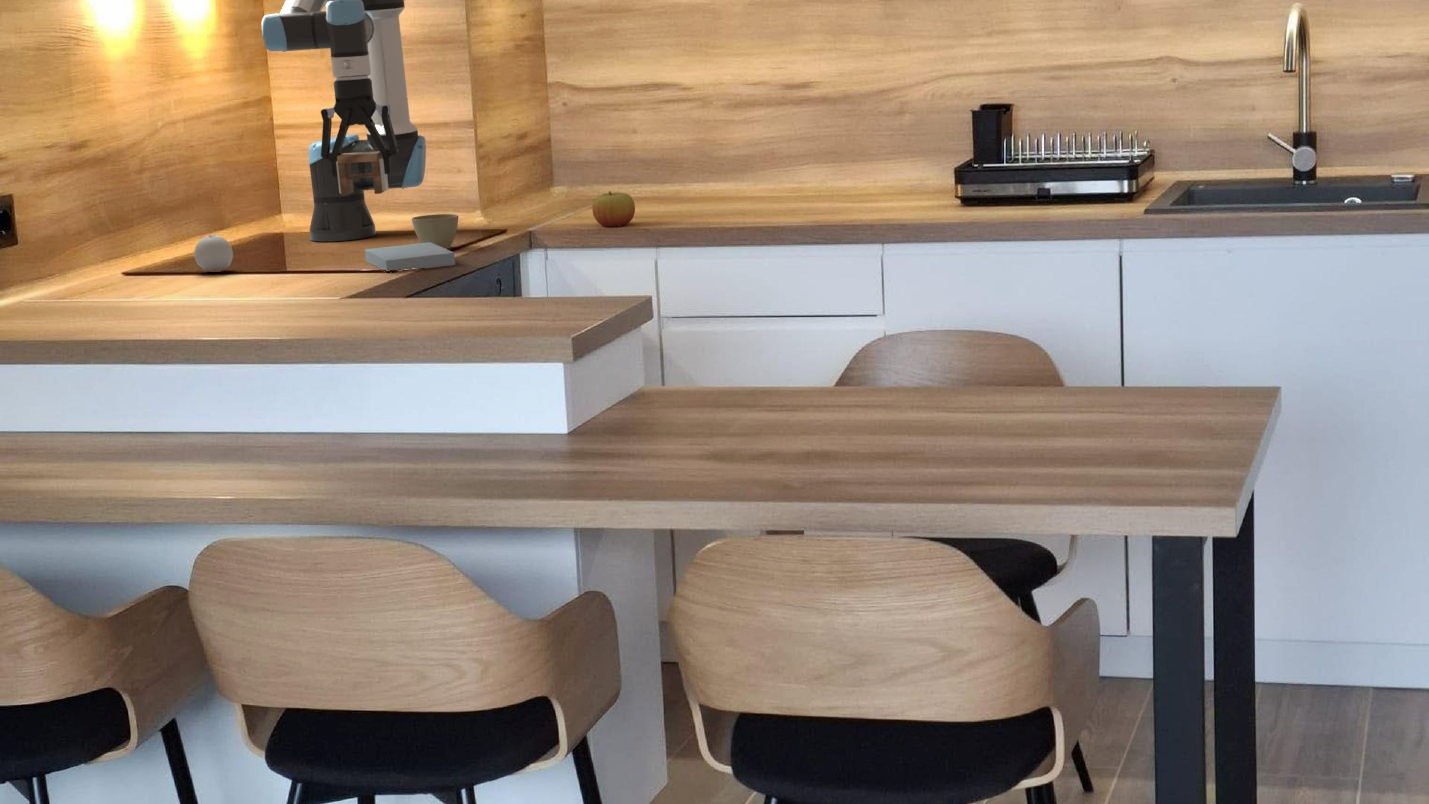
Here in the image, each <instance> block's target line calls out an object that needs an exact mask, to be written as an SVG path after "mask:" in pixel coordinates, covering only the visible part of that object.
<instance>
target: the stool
mask: <svg viewBox="0 0 1429 804" xmlns="http://www.w3.org/2000/svg"><path fill="white" fill-rule="evenodd" d="M382 157H383V156H382V155H381V153H380V151H375V152H358V153H343V154H341V155H338V156H337V160H338V170H339V179H340V188H341V196H347V195H349V194H351V193H353V192H354V190H353V181H352V179H353V178H370V177H373V182H374V190H373V191H374V192H373V193H374V195H378V194H383V193H384V192H385V191H382V184H381V174H380V164H379V159H380V158H382ZM356 162H371V163H372V172H373V173H364V174H352V172H351V163H356Z"/></svg>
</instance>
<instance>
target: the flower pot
mask: <svg viewBox="0 0 1429 804" xmlns="http://www.w3.org/2000/svg"><path fill="white" fill-rule="evenodd" d="M411 224H412V226H413V230H414V232H415V234H416V236H417V238H418V240H419V243H427V242H431V243H433V244H435V245H438V246H440V247H442V248H449V249H450V248H451V246H452V244H453V242H454V239H455V237H456V234H457V231H458V230H457V229H458V224H459V214H455V213H437V214H436V213H435V214H425V215H417V216H413V217H411Z"/></svg>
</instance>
